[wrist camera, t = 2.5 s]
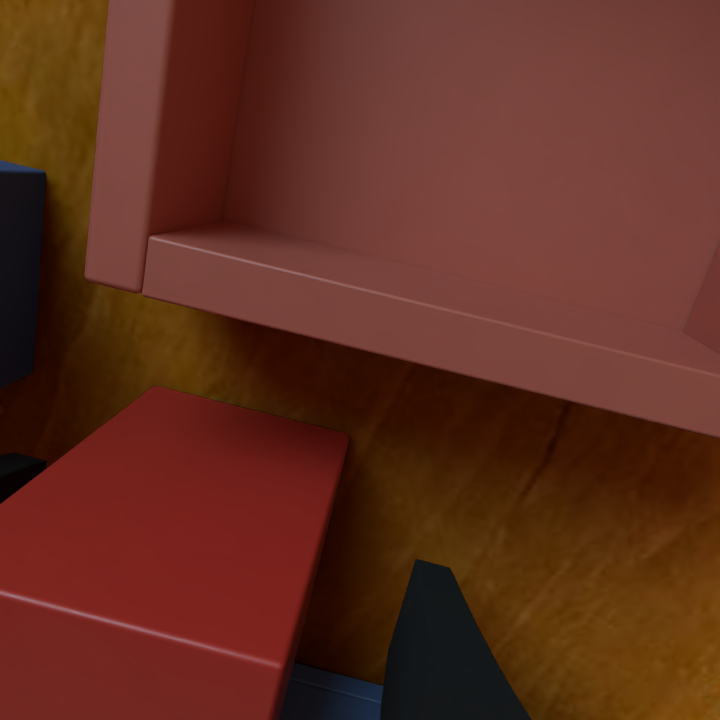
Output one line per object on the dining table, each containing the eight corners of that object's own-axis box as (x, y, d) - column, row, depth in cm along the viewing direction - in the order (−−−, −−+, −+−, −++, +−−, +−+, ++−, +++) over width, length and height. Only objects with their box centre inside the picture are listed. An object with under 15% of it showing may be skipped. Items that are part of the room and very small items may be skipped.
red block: (131, 553, 13) (-91, 838, 7) (153, 383, 12) (-90, 569, 6) (310, 599, 13) (224, 925, 7) (351, 433, 12) (285, 667, 6)
